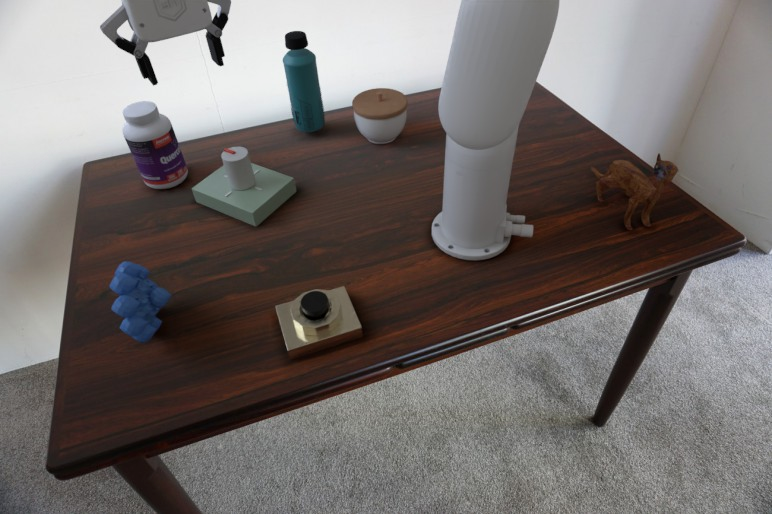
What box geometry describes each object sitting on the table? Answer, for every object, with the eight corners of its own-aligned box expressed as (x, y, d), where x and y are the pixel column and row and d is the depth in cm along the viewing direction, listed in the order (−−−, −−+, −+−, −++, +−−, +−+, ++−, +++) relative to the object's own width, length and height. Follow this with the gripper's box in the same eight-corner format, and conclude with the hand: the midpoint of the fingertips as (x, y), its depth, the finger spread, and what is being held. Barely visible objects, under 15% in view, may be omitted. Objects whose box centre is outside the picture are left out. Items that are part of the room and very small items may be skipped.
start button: (325, 296, 71) (323, 287, 70) (332, 315, 68) (331, 306, 67) (299, 303, 70) (297, 295, 69) (306, 323, 68) (304, 315, 66)
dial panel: (296, 191, 94) (293, 177, 91) (256, 227, 87) (252, 212, 85) (238, 170, 99) (234, 156, 97) (196, 202, 92) (190, 187, 90)
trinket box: (408, 149, 102) (408, 106, 95) (353, 151, 102) (349, 107, 96) (407, 121, 109) (407, 79, 103) (356, 123, 110) (353, 80, 103)
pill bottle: (176, 194, 94) (148, 123, 84) (137, 189, 96) (104, 119, 86) (197, 168, 100) (172, 98, 90) (159, 164, 101) (131, 95, 91)
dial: (260, 179, 91) (253, 149, 87) (243, 193, 89) (234, 162, 84) (241, 172, 93) (233, 142, 89) (224, 186, 90) (215, 155, 86)
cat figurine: (573, 176, 94) (591, 106, 84) (606, 170, 95) (628, 100, 85) (628, 241, 81) (657, 168, 72) (666, 234, 82) (700, 161, 73)
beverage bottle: (332, 127, 109) (321, 30, 95) (313, 142, 105) (297, 43, 91) (308, 119, 111) (293, 24, 97) (288, 134, 108) (269, 36, 94)
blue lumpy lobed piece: (184, 356, 69) (152, 296, 60) (131, 368, 68) (91, 309, 59) (186, 292, 77) (158, 232, 69) (138, 302, 76) (104, 242, 68)
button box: (345, 295, 75) (343, 276, 73) (363, 337, 70) (360, 318, 67) (277, 315, 73) (272, 297, 70) (290, 360, 68) (284, 342, 65)
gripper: (74, -43, 58) (132, 99, 70) (223, -70, 64) (252, 64, 76) (62, -57, 62) (118, 79, 74) (202, -81, 69) (232, 48, 81)
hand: (186, 71), depth 75 cm, fingers open, 9 cm apart
